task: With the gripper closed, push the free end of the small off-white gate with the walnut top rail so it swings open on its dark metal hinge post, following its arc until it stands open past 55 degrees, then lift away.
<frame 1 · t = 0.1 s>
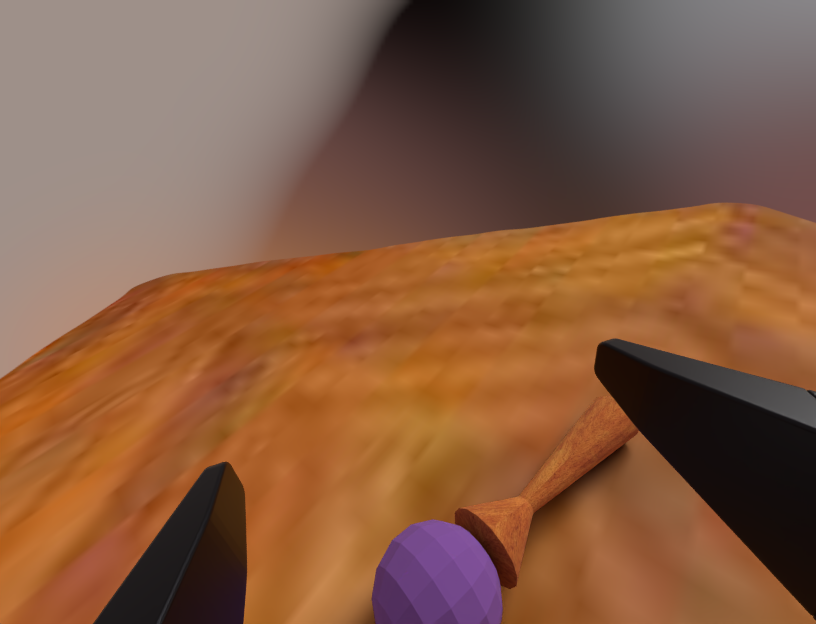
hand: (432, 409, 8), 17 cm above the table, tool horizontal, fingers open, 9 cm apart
kendama: (526, 527, 22), on the table
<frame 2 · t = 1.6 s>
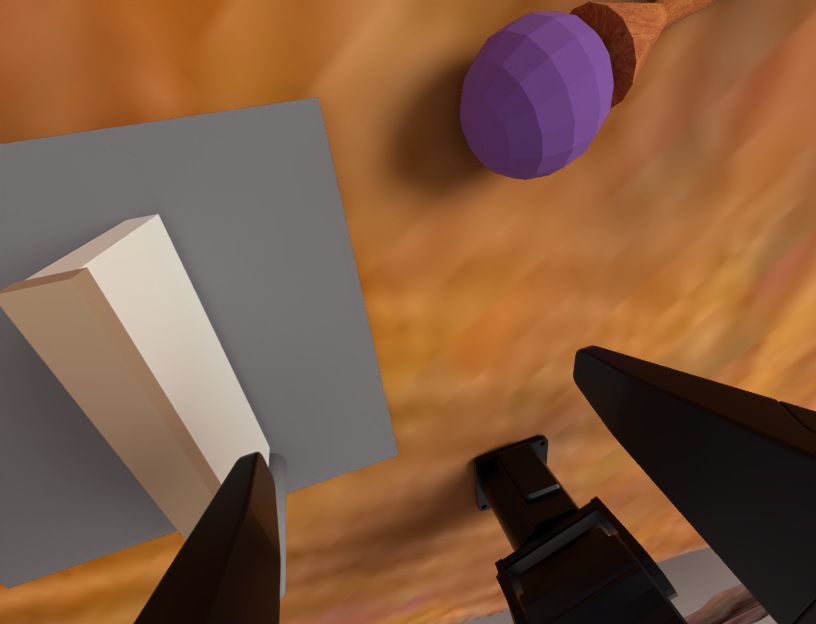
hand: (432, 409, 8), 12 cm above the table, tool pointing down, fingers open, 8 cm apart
flat gray base plate: (139, 379, 19), on the table
gate: (195, 404, 15), point 5 cm above the table, hinge at 0.0°
kendama: (614, 27, 18), on the table
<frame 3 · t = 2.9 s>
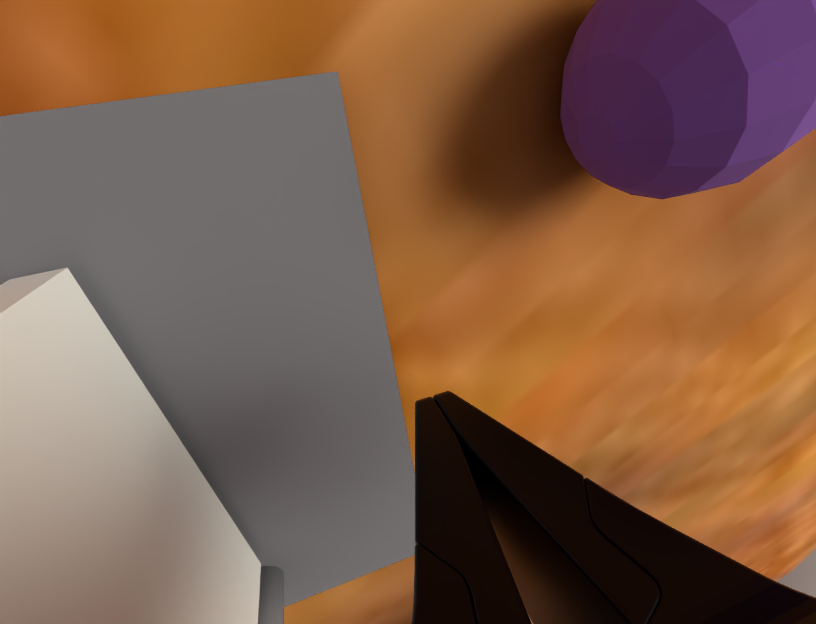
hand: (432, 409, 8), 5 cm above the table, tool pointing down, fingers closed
flat gray base plate: (67, 493, 13), on the table
gate: (133, 583, 9), point 5 cm above the table, hinge at 0.0°
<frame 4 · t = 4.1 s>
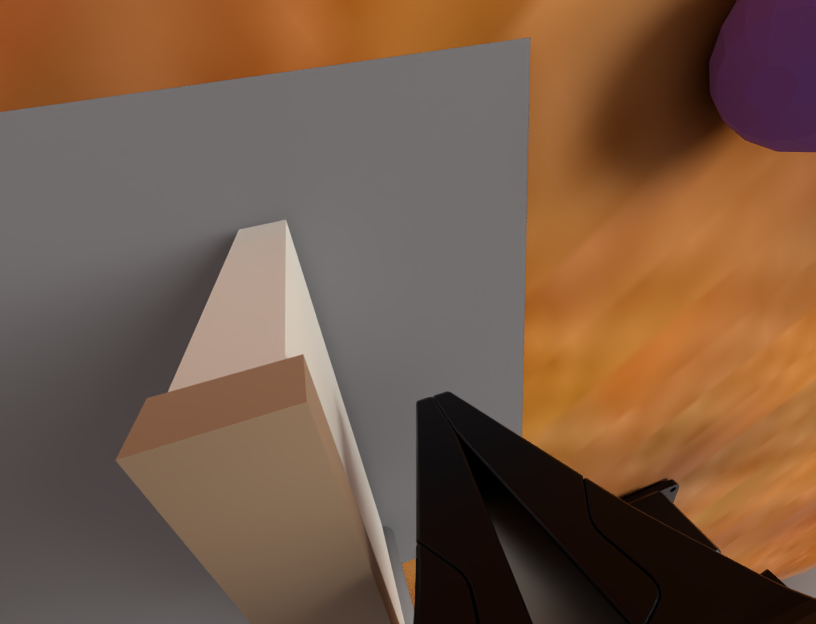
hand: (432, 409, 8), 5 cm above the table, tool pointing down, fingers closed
flat gray base plate: (225, 446, 13), on the table
gate: (343, 511, 10), point 5 cm above the table, hinge at 0.0°, touching gripper
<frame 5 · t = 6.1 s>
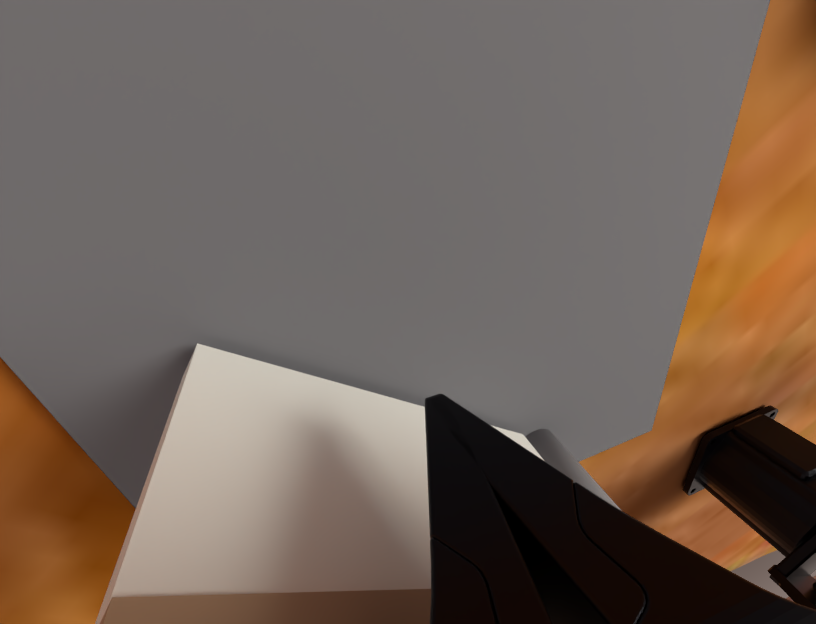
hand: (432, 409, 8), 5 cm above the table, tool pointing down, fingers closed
flat gray base plate: (441, 329, 14), on the table
gate: (427, 497, 11), point 5 cm above the table, hinge at 49.4°, touching gripper
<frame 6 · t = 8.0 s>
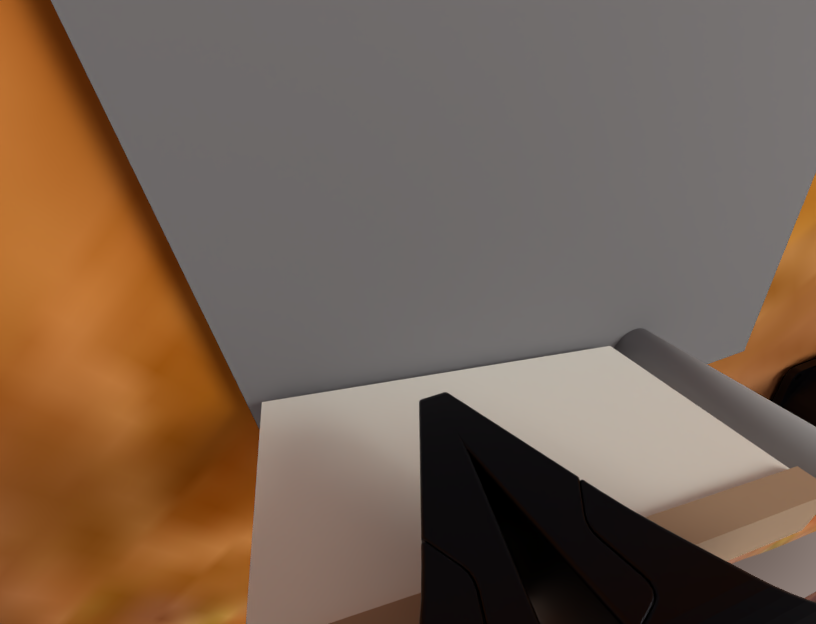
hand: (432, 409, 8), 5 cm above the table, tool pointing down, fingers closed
flat gray base plate: (559, 181, 12), on the table
gate: (510, 458, 11), point 5 cm above the table, hinge at 79.7°, touching gripper
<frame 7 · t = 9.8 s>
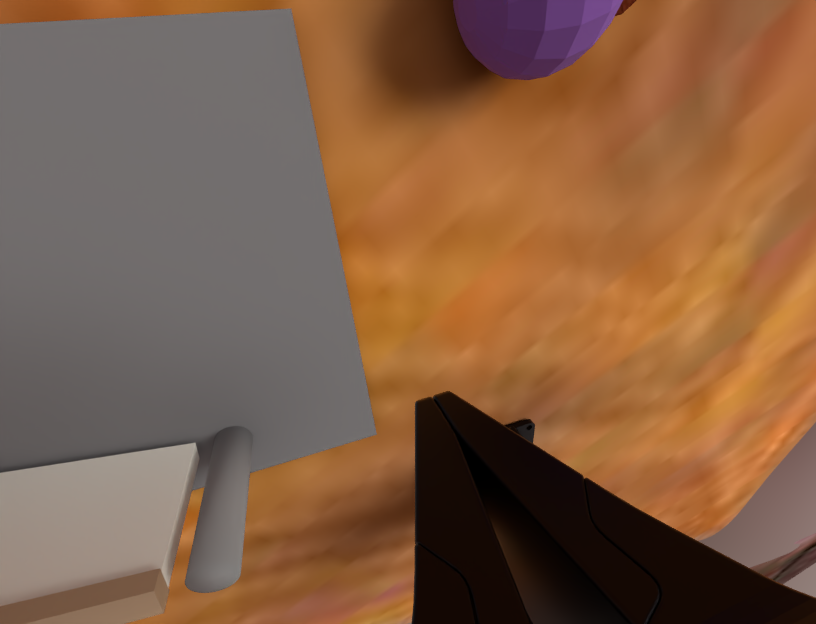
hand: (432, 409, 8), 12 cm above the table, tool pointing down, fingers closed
flat gray base plate: (84, 335, 17), on the table
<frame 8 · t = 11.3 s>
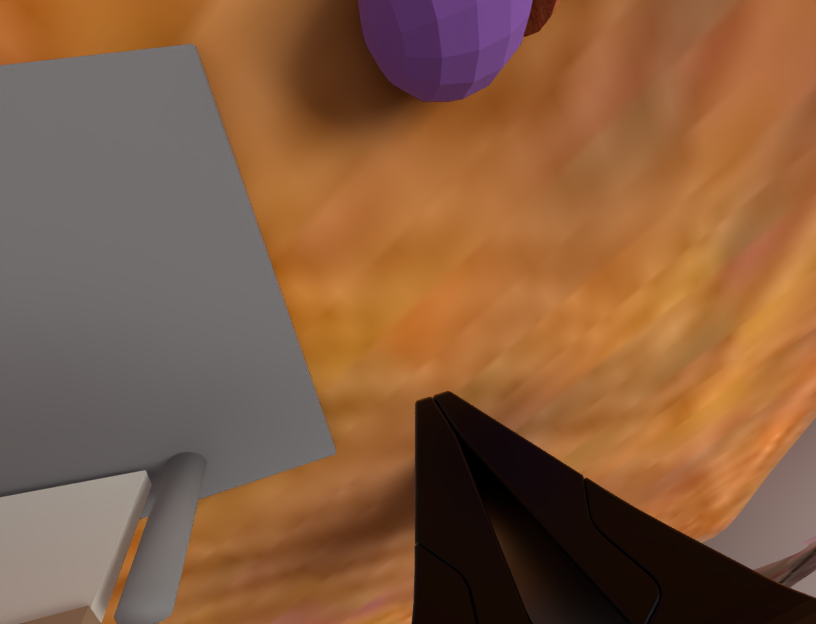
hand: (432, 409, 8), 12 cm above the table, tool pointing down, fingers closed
flat gray base plate: (21, 370, 17), on the table
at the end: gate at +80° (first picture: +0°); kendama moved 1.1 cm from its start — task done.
